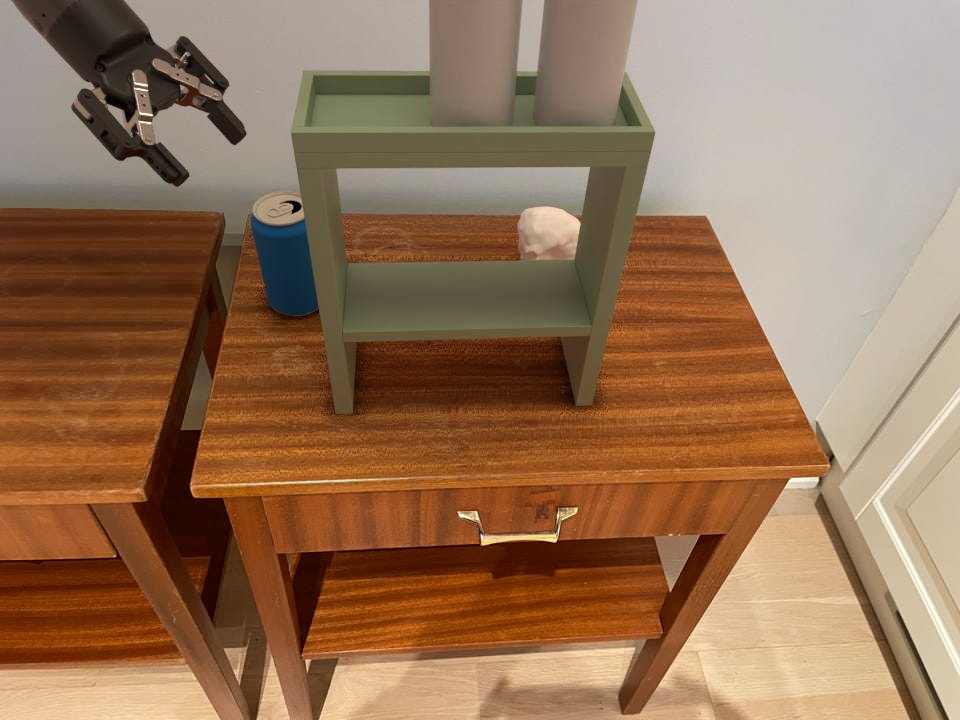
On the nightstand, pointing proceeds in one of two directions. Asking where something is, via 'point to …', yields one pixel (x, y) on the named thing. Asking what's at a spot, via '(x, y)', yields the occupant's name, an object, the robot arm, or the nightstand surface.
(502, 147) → the can shelf
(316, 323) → the nightstand surface
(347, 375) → the shelf stand
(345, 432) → the nightstand surface
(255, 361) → the nightstand surface
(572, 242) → the pale pink lump
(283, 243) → the beverage can
